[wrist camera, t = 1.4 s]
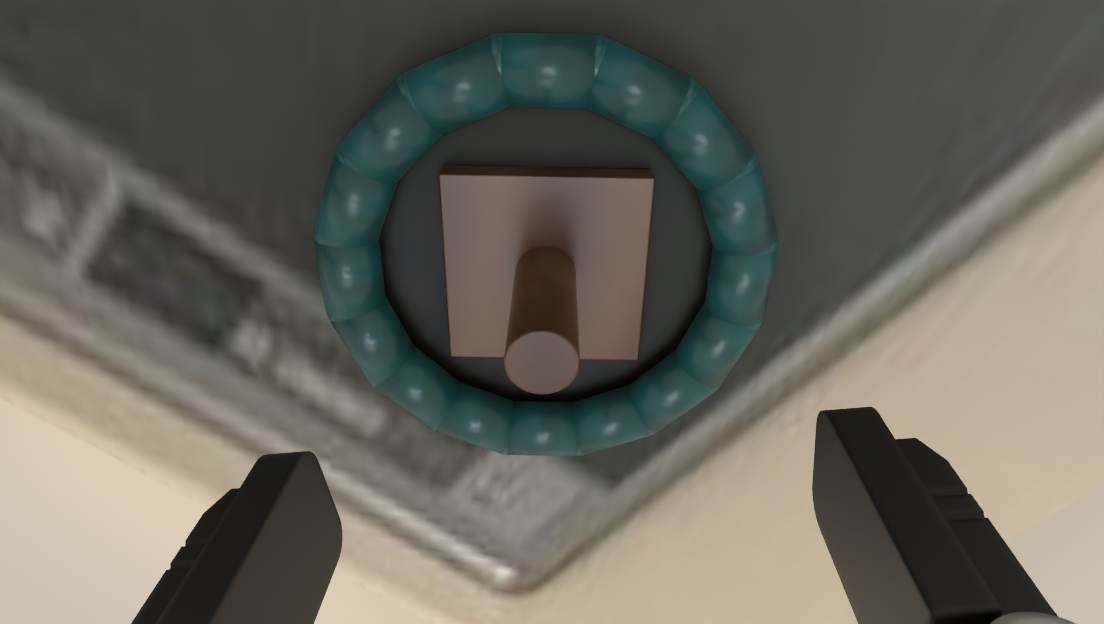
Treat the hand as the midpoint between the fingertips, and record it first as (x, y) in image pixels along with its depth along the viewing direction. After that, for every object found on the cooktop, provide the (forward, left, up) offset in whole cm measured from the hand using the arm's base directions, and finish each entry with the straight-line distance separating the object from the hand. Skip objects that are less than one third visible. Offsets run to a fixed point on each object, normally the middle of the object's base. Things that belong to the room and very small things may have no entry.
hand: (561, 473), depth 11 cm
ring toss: (0, -4, -17) cm, 18 cm away
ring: (0, -4, -16) cm, 17 cm away
